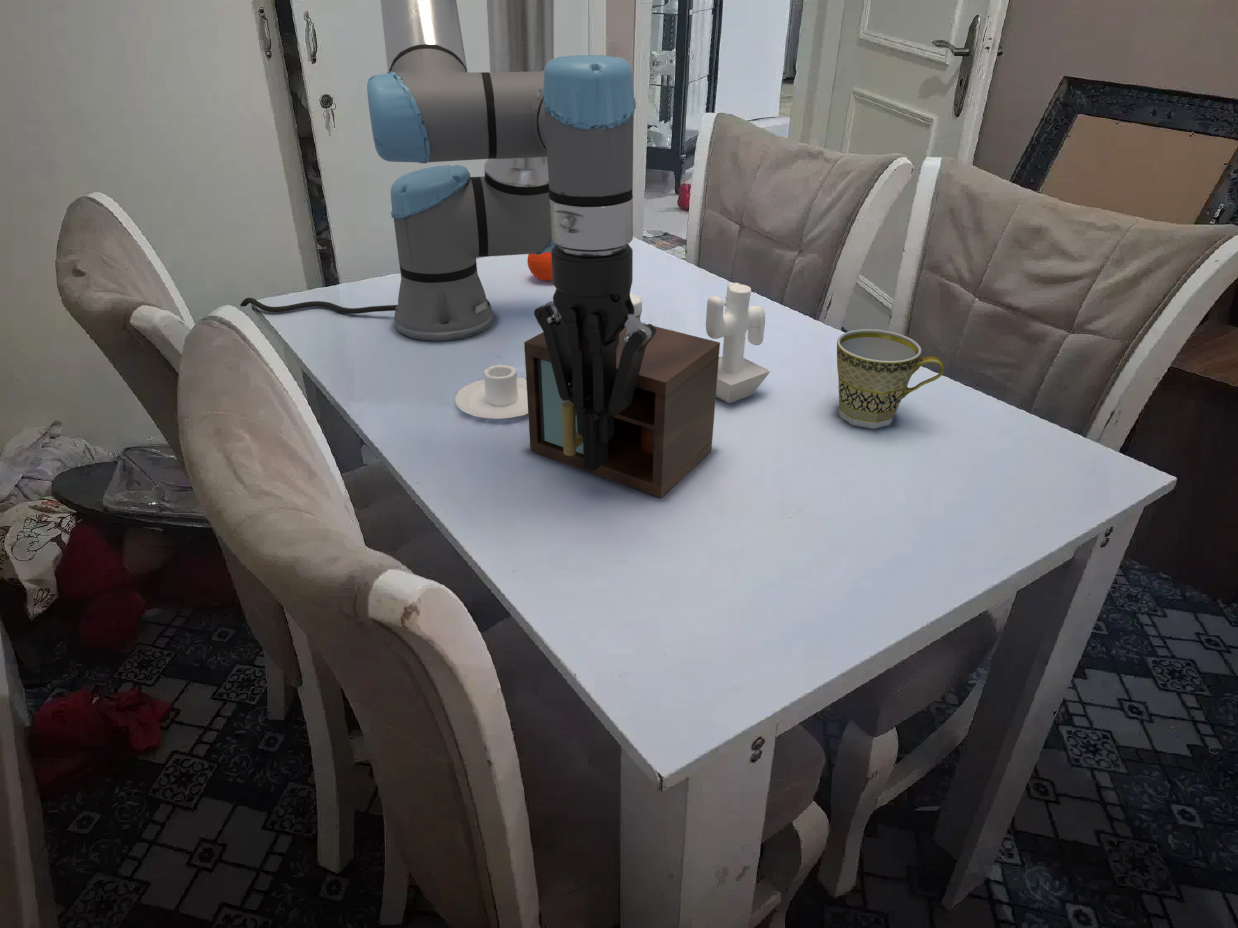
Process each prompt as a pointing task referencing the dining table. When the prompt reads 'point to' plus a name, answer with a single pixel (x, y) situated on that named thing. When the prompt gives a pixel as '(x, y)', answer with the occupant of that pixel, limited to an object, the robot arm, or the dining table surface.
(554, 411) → the glass door
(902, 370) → the ceramic cup
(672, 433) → the cabinet
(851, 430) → the dining table surface
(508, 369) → the candle holder
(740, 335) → the figurine
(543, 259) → the clementine
